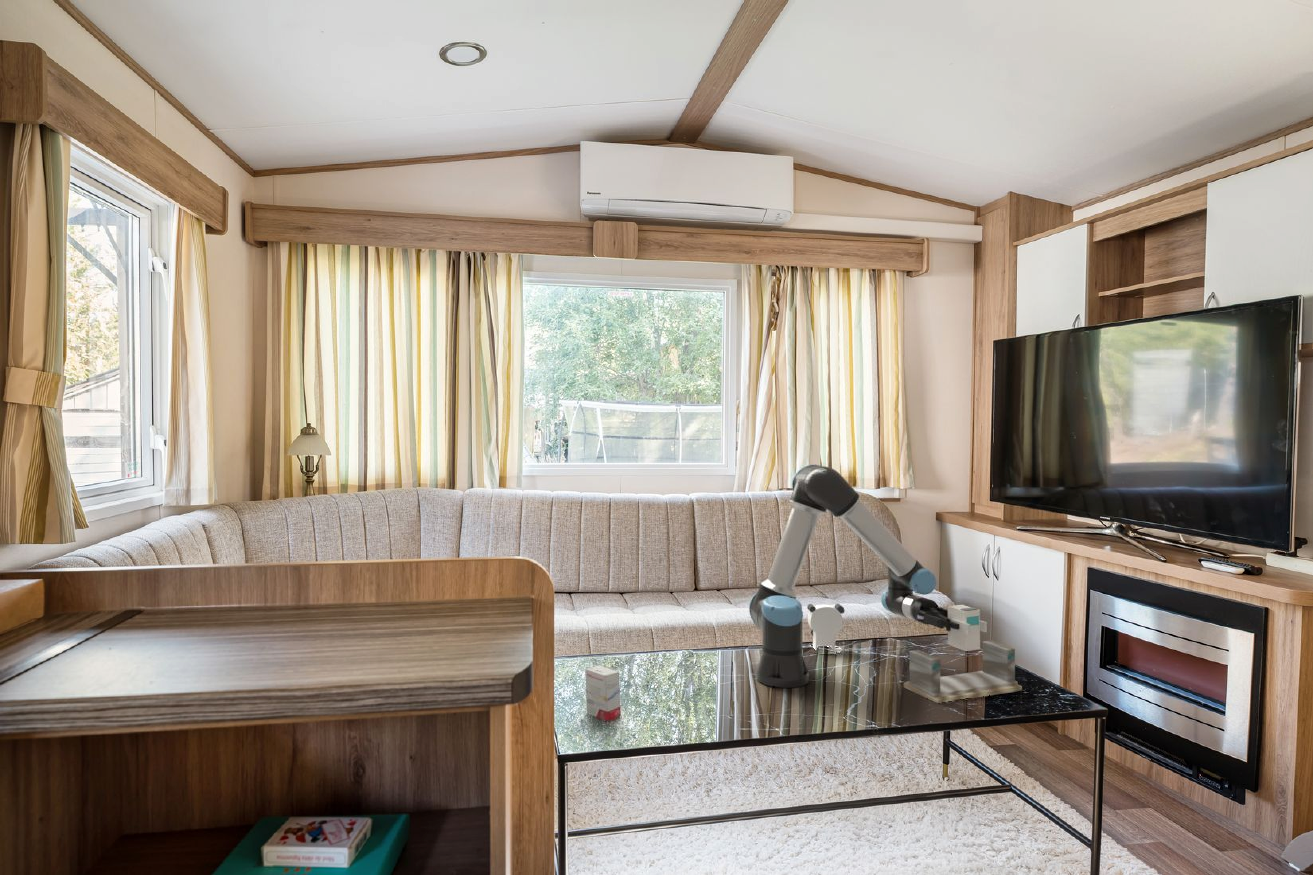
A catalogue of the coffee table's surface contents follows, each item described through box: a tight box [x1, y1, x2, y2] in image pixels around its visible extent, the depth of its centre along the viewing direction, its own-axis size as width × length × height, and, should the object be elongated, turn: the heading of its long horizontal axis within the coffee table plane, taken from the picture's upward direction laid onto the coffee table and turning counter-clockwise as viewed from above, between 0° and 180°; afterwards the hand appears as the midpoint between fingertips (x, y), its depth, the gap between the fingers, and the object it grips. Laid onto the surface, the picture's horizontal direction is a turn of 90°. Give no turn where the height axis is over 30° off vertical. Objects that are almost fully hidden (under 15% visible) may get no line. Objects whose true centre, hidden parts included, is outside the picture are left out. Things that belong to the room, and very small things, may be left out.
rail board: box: [903, 640, 1023, 704], centre depth 214 cm, size 29×14×11 cm, turn 110°
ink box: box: [584, 664, 622, 722], centre depth 196 cm, size 9×5×12 cm, turn 44°
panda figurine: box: [806, 603, 845, 655], centre depth 252 cm, size 12×11×15 cm
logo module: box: [947, 604, 981, 652], centre depth 214 cm, size 5×7×11 cm
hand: (977, 628), depth 209 cm, fingers closed on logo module, 5 cm apart
